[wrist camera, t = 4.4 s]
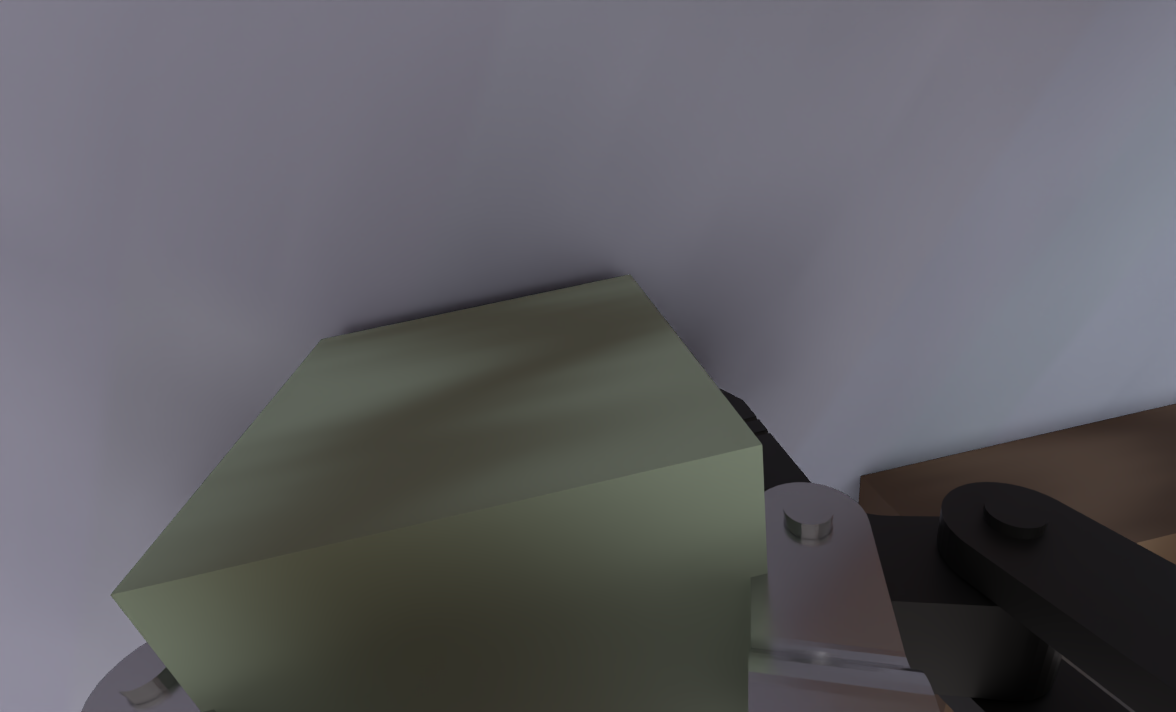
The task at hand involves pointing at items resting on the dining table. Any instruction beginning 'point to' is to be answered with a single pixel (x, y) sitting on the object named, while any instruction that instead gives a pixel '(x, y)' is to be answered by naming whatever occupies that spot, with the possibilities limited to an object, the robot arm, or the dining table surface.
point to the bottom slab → (1059, 477)
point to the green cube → (473, 525)
